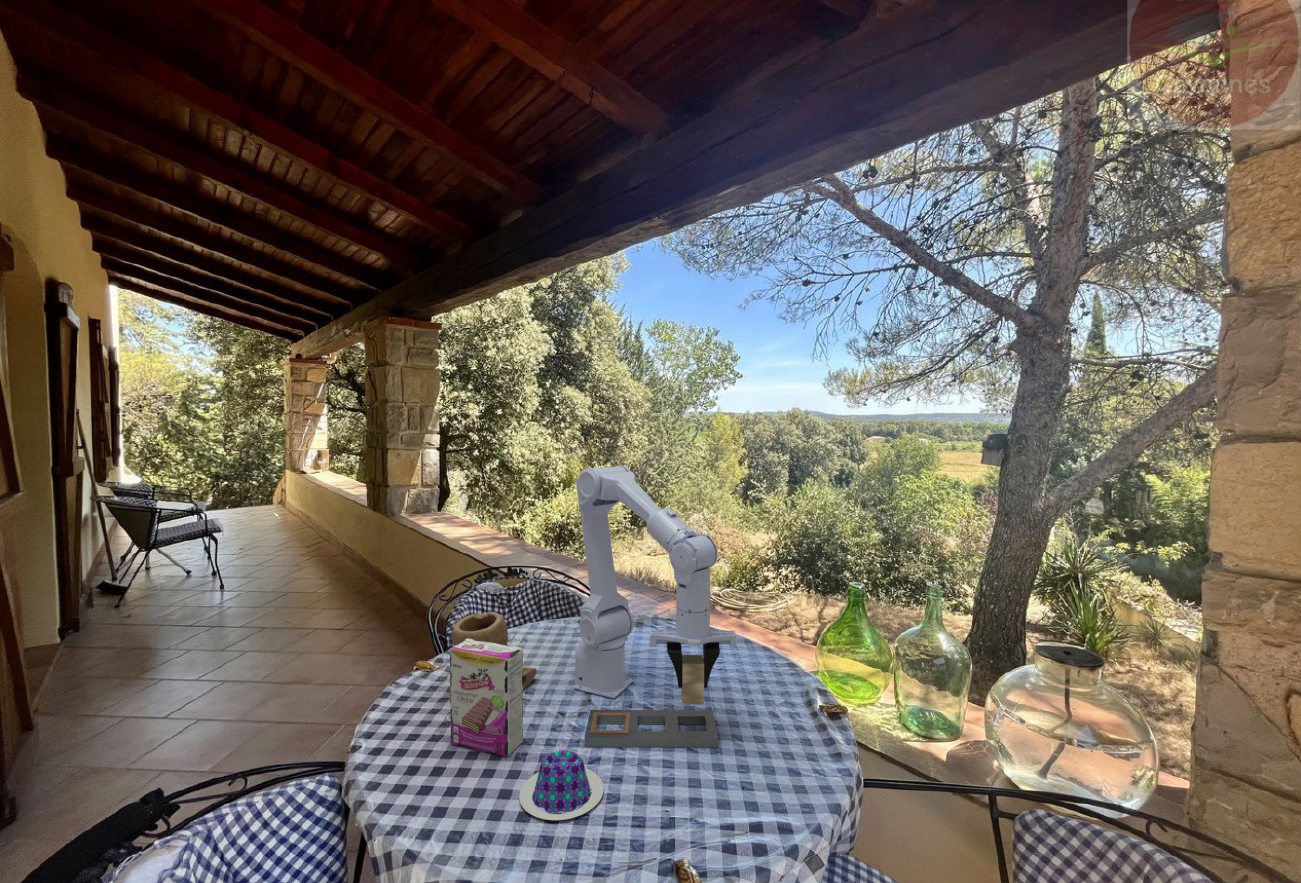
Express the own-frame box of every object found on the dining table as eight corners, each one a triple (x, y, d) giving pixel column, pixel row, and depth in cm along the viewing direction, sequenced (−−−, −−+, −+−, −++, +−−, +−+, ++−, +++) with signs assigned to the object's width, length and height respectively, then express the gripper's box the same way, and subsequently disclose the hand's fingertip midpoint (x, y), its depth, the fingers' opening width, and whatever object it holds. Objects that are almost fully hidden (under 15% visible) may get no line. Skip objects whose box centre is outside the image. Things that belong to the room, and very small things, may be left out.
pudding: (603, 768, 90) (603, 735, 89) (604, 822, 78) (604, 785, 77) (524, 772, 89) (524, 738, 88) (513, 828, 77) (513, 790, 76)
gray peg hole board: (584, 746, 95) (584, 736, 95) (590, 717, 104) (590, 708, 104) (718, 747, 95) (718, 737, 95) (712, 718, 104) (712, 709, 104)
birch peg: (682, 704, 97) (682, 663, 97) (681, 694, 101) (681, 654, 100) (703, 704, 97) (704, 664, 97) (701, 694, 101) (702, 654, 100)
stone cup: (439, 701, 109) (438, 623, 109) (469, 673, 121) (468, 603, 120) (515, 708, 107) (514, 629, 106) (538, 679, 119) (537, 607, 118)
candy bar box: (448, 746, 95) (447, 648, 94) (467, 730, 99) (466, 637, 99) (507, 759, 91) (506, 658, 90) (524, 742, 96) (523, 646, 95)
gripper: (650, 615, 94) (649, 696, 95) (739, 615, 94) (738, 697, 95) (650, 601, 101) (650, 676, 102) (733, 601, 101) (732, 677, 102)
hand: (692, 685), depth 99 cm, fingers closed on birch peg, 4 cm apart
